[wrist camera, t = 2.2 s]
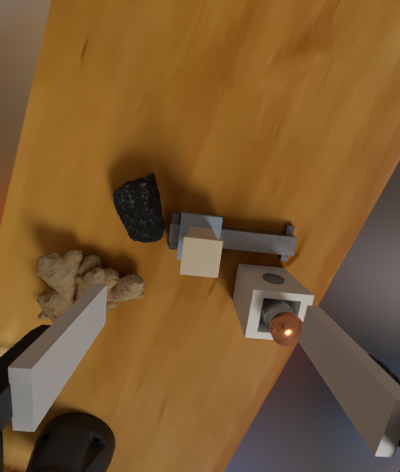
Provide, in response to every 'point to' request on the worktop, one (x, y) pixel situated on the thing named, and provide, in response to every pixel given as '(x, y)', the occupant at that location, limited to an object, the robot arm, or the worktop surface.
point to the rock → (140, 209)
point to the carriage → (200, 244)
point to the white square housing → (266, 296)
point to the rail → (246, 239)
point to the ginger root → (80, 282)
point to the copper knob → (281, 321)
